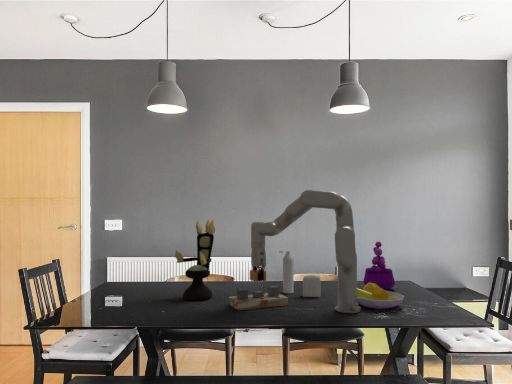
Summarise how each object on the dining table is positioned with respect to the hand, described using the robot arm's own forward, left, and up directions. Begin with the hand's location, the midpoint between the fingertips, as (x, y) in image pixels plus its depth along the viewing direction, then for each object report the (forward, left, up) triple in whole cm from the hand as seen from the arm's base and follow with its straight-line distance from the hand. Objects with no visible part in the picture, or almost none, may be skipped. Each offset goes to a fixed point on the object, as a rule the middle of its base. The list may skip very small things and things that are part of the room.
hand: (257, 278), depth 214 cm
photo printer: (+5, -36, -14) cm, 39 cm away
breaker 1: (0, +9, -10) cm, 14 cm away
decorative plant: (+5, -85, -14) cm, 86 cm away
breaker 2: (0, 0, -12) cm, 12 cm away
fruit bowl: (-27, -55, -14) cm, 63 cm away
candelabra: (+30, +24, -14) cm, 41 cm away
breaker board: (0, 0, -14) cm, 14 cm away
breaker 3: (0, -9, -10) cm, 14 cm away
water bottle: (+21, -28, -14) cm, 38 cm away
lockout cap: (0, 0, -1) cm, 1 cm away
